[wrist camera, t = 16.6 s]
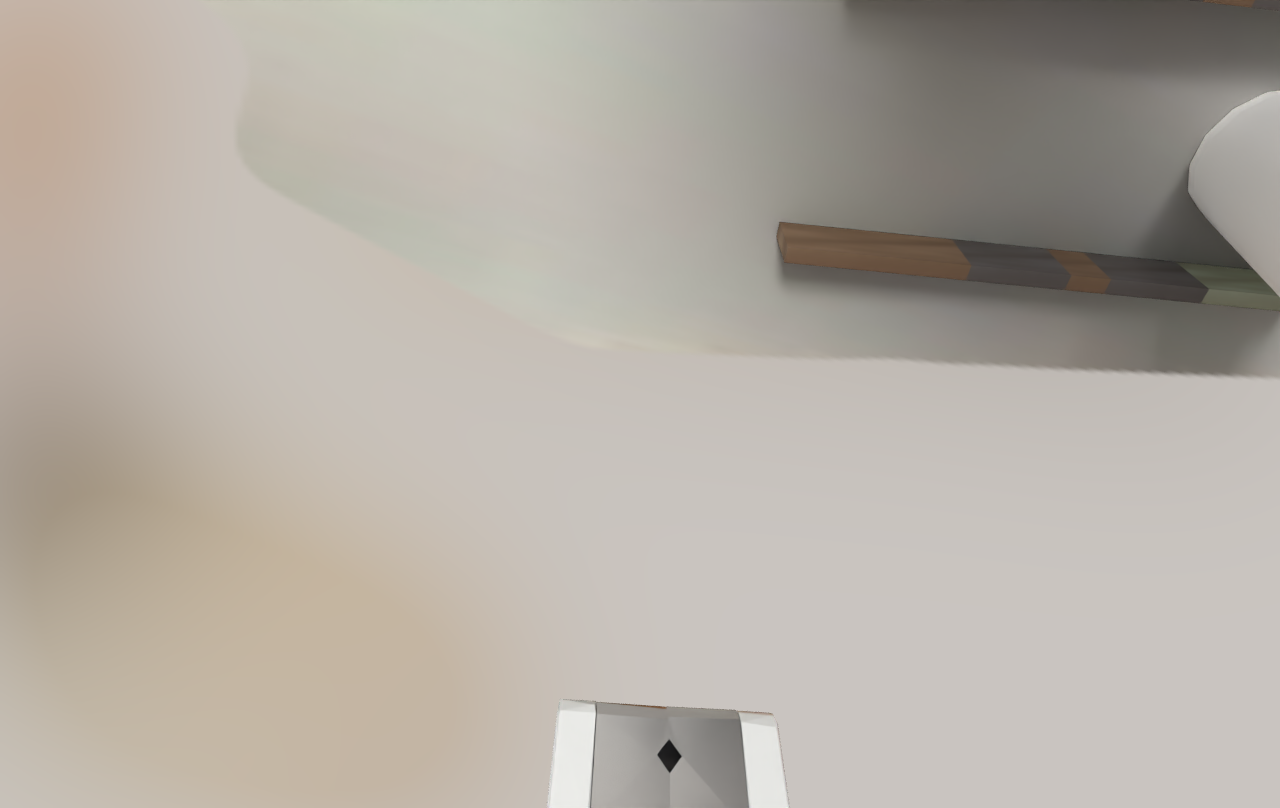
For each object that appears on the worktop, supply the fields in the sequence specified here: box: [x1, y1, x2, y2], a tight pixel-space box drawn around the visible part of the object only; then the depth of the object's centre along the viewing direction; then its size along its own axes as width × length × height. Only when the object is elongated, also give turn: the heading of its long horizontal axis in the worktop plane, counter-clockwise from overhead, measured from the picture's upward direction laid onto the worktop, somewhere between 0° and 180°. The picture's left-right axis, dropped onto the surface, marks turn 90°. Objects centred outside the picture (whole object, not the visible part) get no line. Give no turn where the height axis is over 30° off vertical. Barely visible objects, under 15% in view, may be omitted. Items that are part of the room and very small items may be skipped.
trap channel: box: [776, 0, 1280, 311], centre depth 35 cm, size 14×28×3 cm, turn 84°
